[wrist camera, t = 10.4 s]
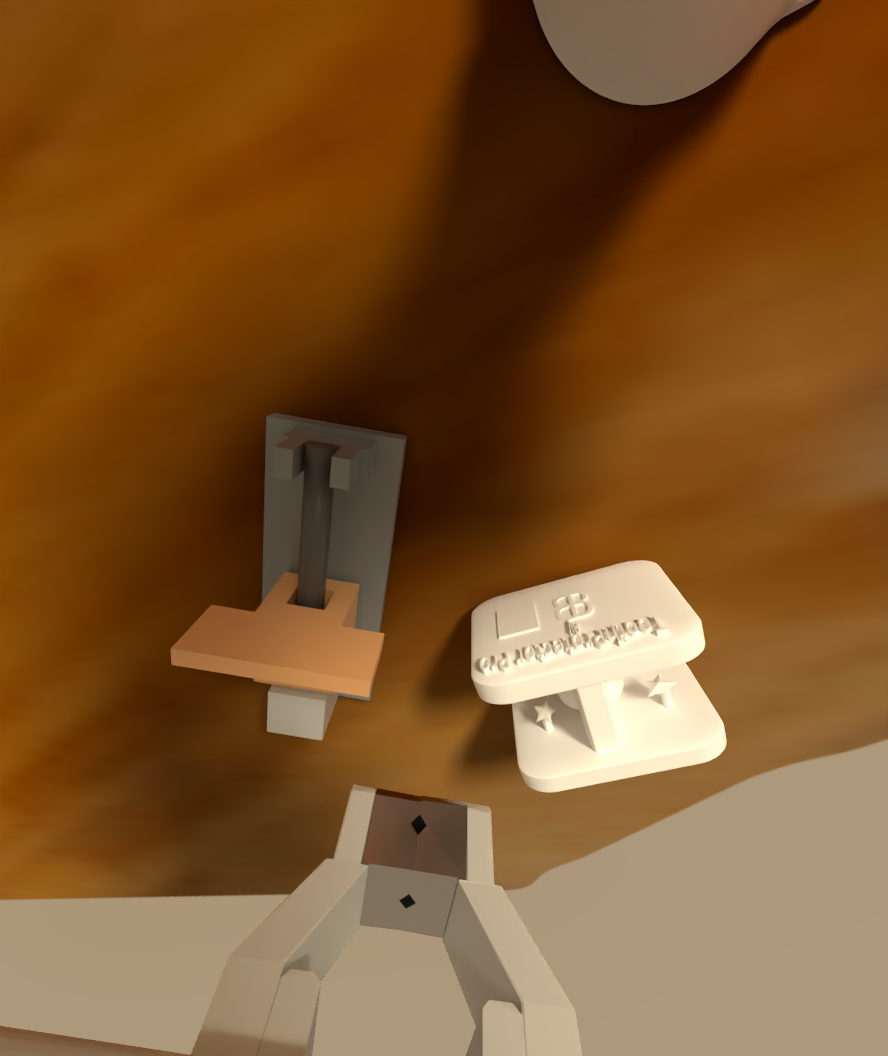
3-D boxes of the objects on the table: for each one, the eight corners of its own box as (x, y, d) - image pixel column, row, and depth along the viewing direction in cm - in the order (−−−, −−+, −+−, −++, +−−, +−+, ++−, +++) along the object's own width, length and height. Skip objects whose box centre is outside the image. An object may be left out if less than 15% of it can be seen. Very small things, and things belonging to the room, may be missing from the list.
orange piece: (247, 565, 40) (170, 648, 29) (396, 590, 40) (371, 681, 30) (247, 628, 42) (175, 725, 32) (388, 651, 42) (361, 755, 32)
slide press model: (274, 412, 37) (230, 432, 30) (407, 435, 37) (393, 459, 30) (266, 671, 46) (231, 730, 39) (373, 689, 46) (356, 751, 40)
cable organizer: (504, 690, 46) (514, 803, 35) (468, 593, 42) (467, 686, 31) (671, 650, 43) (738, 759, 32) (649, 544, 39) (715, 626, 29)
